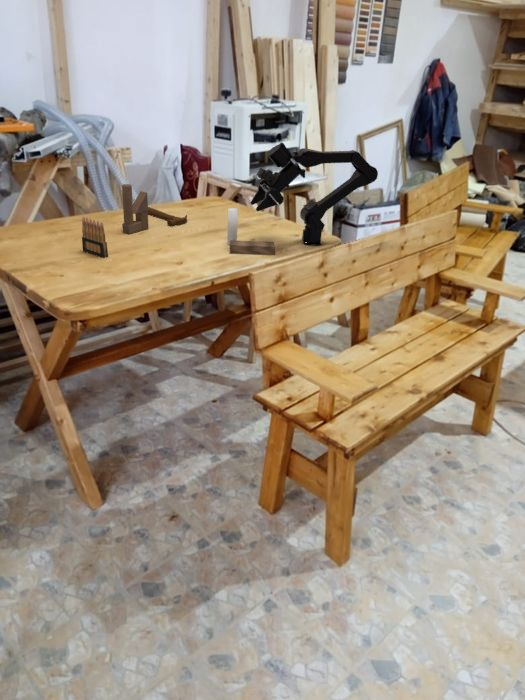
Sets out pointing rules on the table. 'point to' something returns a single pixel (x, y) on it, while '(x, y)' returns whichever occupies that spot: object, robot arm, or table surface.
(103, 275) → the table surface
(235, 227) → the dowel
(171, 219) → the hammer
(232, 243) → the beam
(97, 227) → the ammunition clip
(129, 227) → the brown wooden bracket
